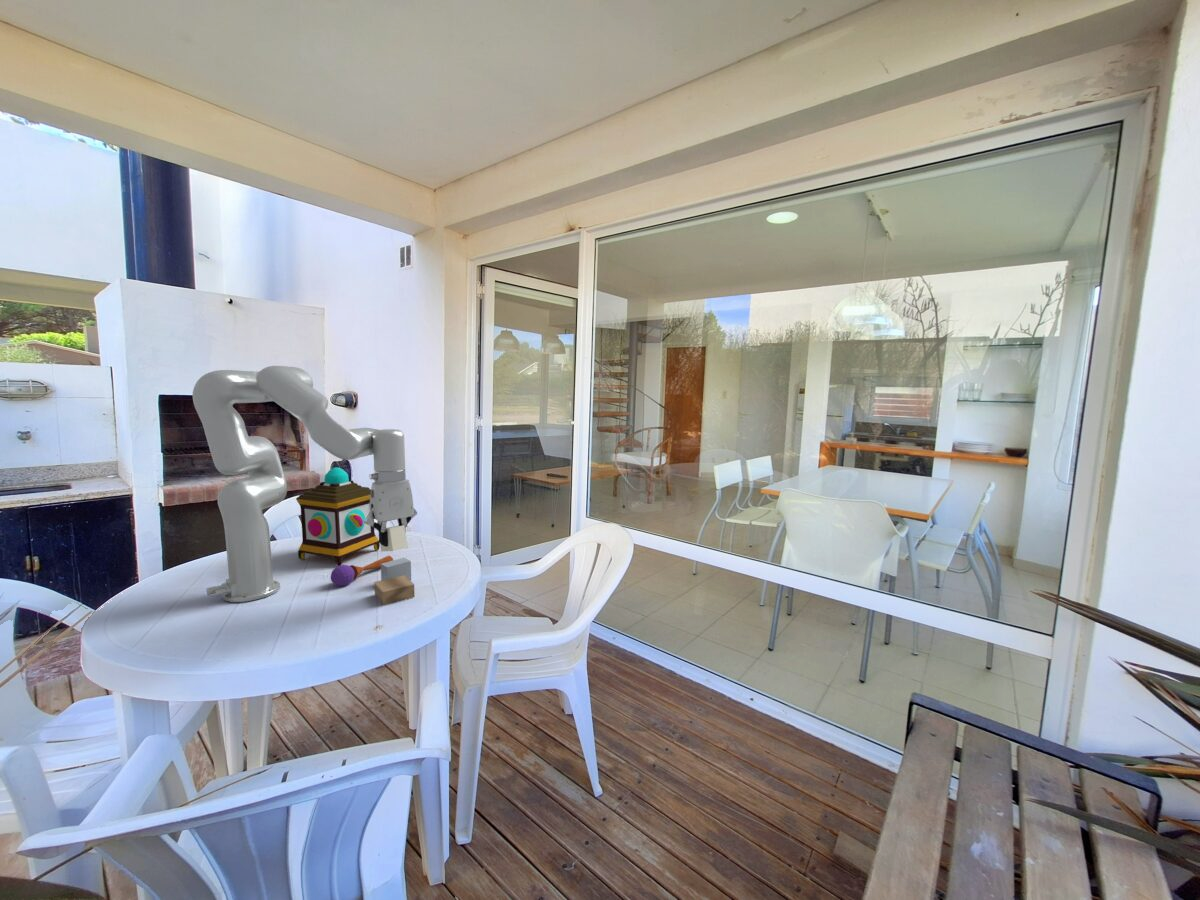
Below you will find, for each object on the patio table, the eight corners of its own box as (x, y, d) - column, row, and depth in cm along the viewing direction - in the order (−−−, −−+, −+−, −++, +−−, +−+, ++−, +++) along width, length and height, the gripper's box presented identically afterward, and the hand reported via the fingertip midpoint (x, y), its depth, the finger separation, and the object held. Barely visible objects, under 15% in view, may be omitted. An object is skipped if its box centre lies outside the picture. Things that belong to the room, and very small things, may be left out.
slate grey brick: (387, 587, 134) (387, 567, 133) (381, 583, 137) (380, 563, 136) (411, 580, 140) (410, 560, 139) (404, 576, 142) (404, 557, 141)
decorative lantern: (342, 542, 172) (338, 461, 168) (386, 549, 165) (383, 465, 162) (291, 561, 153) (285, 469, 149) (338, 569, 147) (333, 474, 143)
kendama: (397, 555, 150) (342, 572, 131) (394, 572, 150) (339, 592, 132) (384, 548, 152) (327, 564, 133) (380, 566, 152) (324, 584, 134)
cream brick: (407, 547, 126) (404, 525, 126) (393, 551, 123) (389, 528, 123) (395, 548, 130) (392, 526, 130) (381, 551, 127) (378, 529, 127)
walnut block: (383, 606, 123) (382, 592, 123) (374, 596, 129) (374, 582, 129) (414, 598, 128) (414, 584, 128) (405, 588, 134) (404, 575, 134)
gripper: (363, 482, 116) (367, 554, 118) (426, 474, 128) (428, 539, 131) (351, 478, 121) (354, 547, 123) (412, 470, 133) (415, 533, 135)
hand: (392, 542), depth 127 cm, fingers closed on cream brick, 3 cm apart
